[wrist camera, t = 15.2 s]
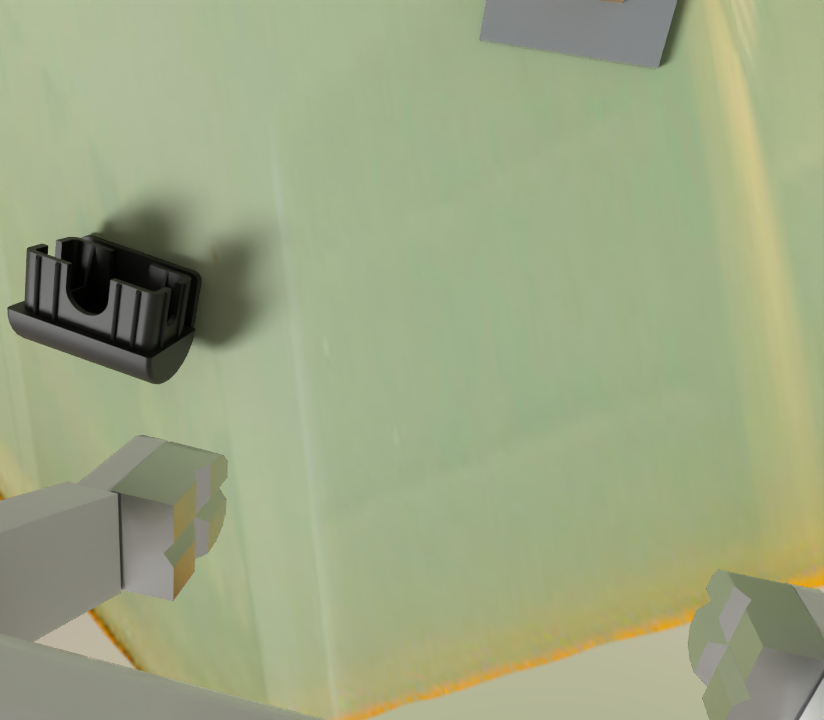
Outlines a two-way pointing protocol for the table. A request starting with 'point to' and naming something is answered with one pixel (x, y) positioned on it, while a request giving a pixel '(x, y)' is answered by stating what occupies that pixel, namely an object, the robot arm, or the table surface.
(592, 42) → the slate coaster
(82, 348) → the end cap
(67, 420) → the table surface
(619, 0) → the oak block
